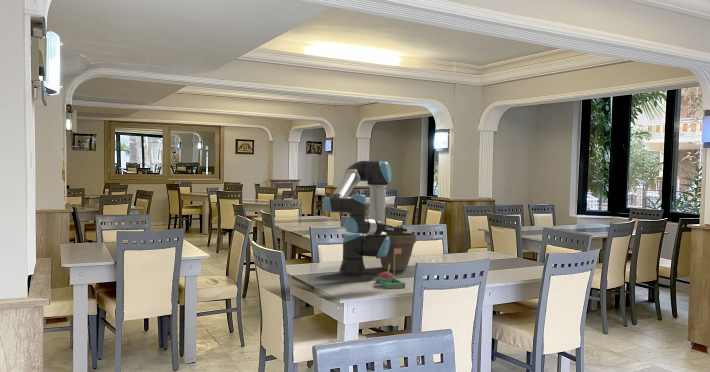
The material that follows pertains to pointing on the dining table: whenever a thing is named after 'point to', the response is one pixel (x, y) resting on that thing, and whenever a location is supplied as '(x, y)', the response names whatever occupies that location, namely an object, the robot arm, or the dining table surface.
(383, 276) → the cupcake
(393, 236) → the plant pot
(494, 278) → the dining table surface
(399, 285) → the mini putting green
